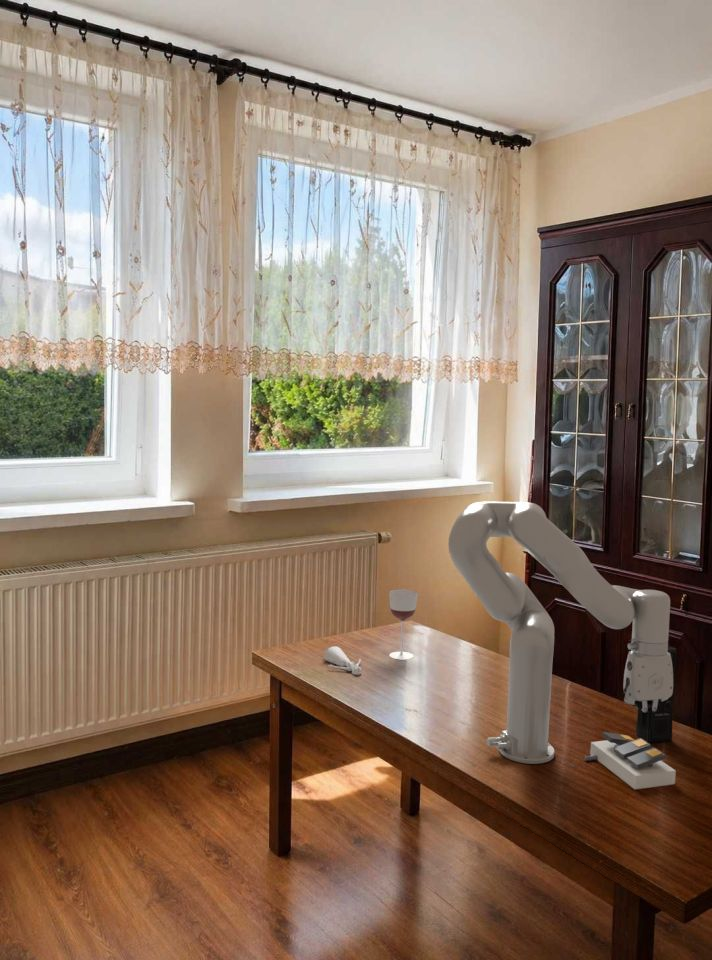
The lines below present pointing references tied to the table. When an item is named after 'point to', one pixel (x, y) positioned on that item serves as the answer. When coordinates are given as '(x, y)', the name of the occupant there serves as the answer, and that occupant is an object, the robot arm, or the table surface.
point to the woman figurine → (341, 660)
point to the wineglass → (402, 614)
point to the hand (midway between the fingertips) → (644, 726)
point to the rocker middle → (632, 748)
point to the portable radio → (661, 714)
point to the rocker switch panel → (631, 767)
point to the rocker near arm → (617, 738)
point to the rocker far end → (646, 758)
